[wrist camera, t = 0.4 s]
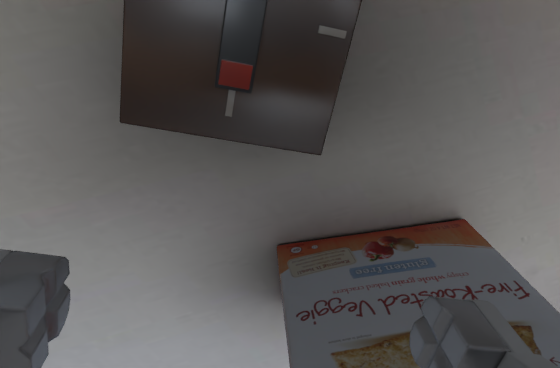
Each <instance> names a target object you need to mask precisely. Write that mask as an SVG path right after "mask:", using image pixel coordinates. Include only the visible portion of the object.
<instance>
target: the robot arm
mask: <svg viewBox="0 0 560 368" xmlns="http://www.w3.org/2000/svg"><path fill="white" fill-rule="evenodd" d="M69 274H70V271H69V260H68V259H67V258H66V257H61V256H53V255H46V254H38V253H30V252H22V251H11V250H4V249H0V368H41V367H42V365H43V363H44V361H45V360H46V358H47V356H48V354H49V353H48V342H49V341H51V340H53V339H54V338H56V337H57V336H59V334H60V332H61V330H62V328H63V326H64V324H65V321H66V318H67V314H68V311H69V305H70V289H69V288H68V287H67V286H66V285H65V284H64V282H65V280H66V278H67V277H68V275H69ZM420 309H421V311H422V314H423V316H422V317H421V318H419V319H418V320H417V321H415V322H414V324H413V326H412V329H411V331H410V341H409V345H410V350H411V354H412V356H413V359H414V361H415V363H416V364H417V365H418V366H419V367H421V368H559V367H558V366H556V365H555V364H553V363H552V362H550V361H549V360H547V359H546V358H544V357H543V356H541V355H537V354H533V352H532V351H531V350H530V349H529V348H528V346H527V345H526V344H525V343H524V341H523V340H522V339H521V338H520V336H519V335H518V334H517V333H516V332H515V330H514V329H513V328H512V327H511V325H510V324H509V323H508V322H507V320H506V319H505V318H504V317H503V316H502V314H501V313H500V312H499V311H498V309H497V308H496V307H495V306H494V305H493V304H492V303H490V302H488V301H484V300H472V299H467V300H465V299H455V298H445V297H435V296H429V297H427V298H426V299H425V300H424V302H423V304H422V306H421V308H420Z"/></svg>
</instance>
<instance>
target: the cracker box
mask: <svg viewBox="0 0 560 368" xmlns="http://www.w3.org/2000/svg"><path fill="white" fill-rule="evenodd" d="M277 256H278V266H279V277H280V286H281V295H282V303H283V312H284V321H285V329H286V337H287V346H288V355H289V363H290V368H421V367H419V366H418V365H417V364H416V363H415V361H414V359H413V356H412V354H411V350H410V345H409V341H410V331H411V329H412V326H413V324H414V322H415V321H417V320H418V319H419V318H421V317H422V316H423V314H422V311H421V309H420V308H421V306H422V304H423V302H424V300H425V299H426V298H427V297H429V296H435V297H445V298H455V299H465V300H467V299H472V300H484V301H488V302H490V303H492V304H493V305H494V306H495V307H496V308H497V309H498V311H499V312H500V313H501V314H502V316H503V317H504V318H505V319H506V320H507V322H508V323H509V324H510V325H511V327H512V328H513V329H514V330H515V332H516V333H517V334H518V335H519V336H520V338H521V339H522V340H523V341H524V343H525V344H526V345H527V346H528V348H529V349H530V350H531V351H532V352H533V354H537V355H541V356H543V357H544V358H546V359H547V360H549V361H550V362H552V363H553V364H555V365H556V366H558V367H559V368H560V313H559V312H558V311H557V310H556V309H555V308H554V307H553V306H552V305H551V304H550V303H549V302H548V301H547V300H546V299H545V298H544V297H543V296H541V295H540V294H539V292H538V291H537V290H536V289H535V288H533V287H532V286H531V285H530V284H529V282H528V281H527V280H525V279H524V278H523V277H522V276H521V275H520V274H519V272H518V271H516V270H515V269H514V268H513V267H512V265H511V264H510V263H509V262H508V261H506V260H505V259H504V258H503V257H502V256H501V255H500V254H499V253H498V252H497V251H496V250H495V249H494V248H493V247H492V246H491V245H490V244H489V243H488V242H487V241H486V240H485V239H484V238H483V237H482V236H481V235H480V234H479V233H478V232H477V231H476V230H475V229H474V228H473V227H472V226H471V225H470V224H469V223H468V222H467V221H466V220H465V219H461V220H455V221H448V222H442V223H435V224H427V225H420V226H414V227H407V228H400V229H393V230H385V231H378V232H371V233H365V234H357V235H350V236H343V237H335V238H328V239H321V240H314V241H306V242H299V243H292V244H285V245H278V246H277Z"/></svg>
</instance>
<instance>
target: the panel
mask: <svg viewBox="0 0 560 368" xmlns="http://www.w3.org/2000/svg"><path fill="white" fill-rule="evenodd" d="M361 2H362V0H268V1H267V7H266V13H265V19H264V24H263V30H262V36H261V42H260V48H259V53H258V59H257V65H256V71H255V76H254V82H253V88H252V93H244V92H239V91H233V90H228V89H222V88H217V87H215V78H216V71H217V63H218V56H219V48H220V41H221V33H222V26H223V18H224V11H225V3H226V0H124V18H123V45H122V73H121V101H120V123H125V124H131V125H137V126H143V127H149V128H155V129H162V130H168V131H174V132H180V133H186V134H192V135H198V136H204V137H211V138H217V139H223V140H229V141H235V142H241V143H247V144H253V145H260V146H266V147H272V148H278V149H284V150H290V151H296V152H303V153H309V154H315V155H321V154H322V150H323V146H324V142H325V139H326V135H327V131H328V127H329V123H330V120H331V116H332V112H333V108H334V105H335V101H336V97H337V93H338V89H339V86H340V82H341V78H342V74H343V70H344V67H345V63H346V59H347V55H348V51H349V48H350V44H351V40H352V36H353V32H354V29H355V25H356V21H357V17H358V13H359V10H360V6H361Z"/></svg>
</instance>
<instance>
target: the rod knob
mask: <svg viewBox="0 0 560 368" xmlns="http://www.w3.org/2000/svg"><path fill="white" fill-rule="evenodd" d="M267 1H268V0H226V3H225V11H224V18H223V26H222V33H221V41H220V48H219V56H218V63H217V71H216V78H215V87H217V88H222V89H228V90H233V91H239V92H244V93H252V88H253V82H254V76H255V71H256V65H257V59H258V53H259V48H260V42H261V36H262V30H263V24H264V19H265V13H266V7H267Z"/></svg>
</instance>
